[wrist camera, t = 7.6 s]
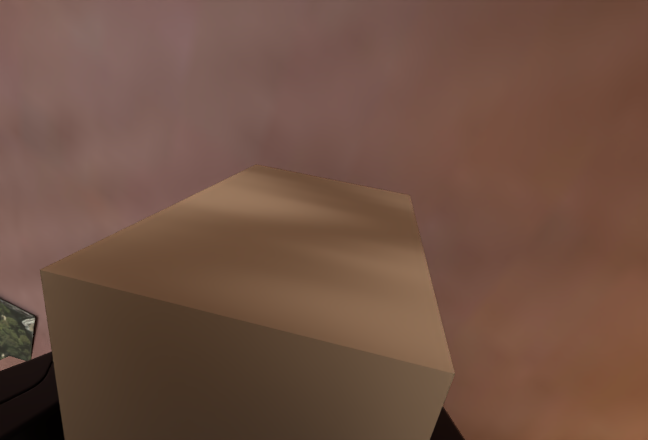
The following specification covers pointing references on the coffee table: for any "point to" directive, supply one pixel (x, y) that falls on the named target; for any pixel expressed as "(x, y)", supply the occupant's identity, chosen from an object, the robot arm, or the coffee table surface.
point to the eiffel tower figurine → (15, 332)
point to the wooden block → (252, 319)
